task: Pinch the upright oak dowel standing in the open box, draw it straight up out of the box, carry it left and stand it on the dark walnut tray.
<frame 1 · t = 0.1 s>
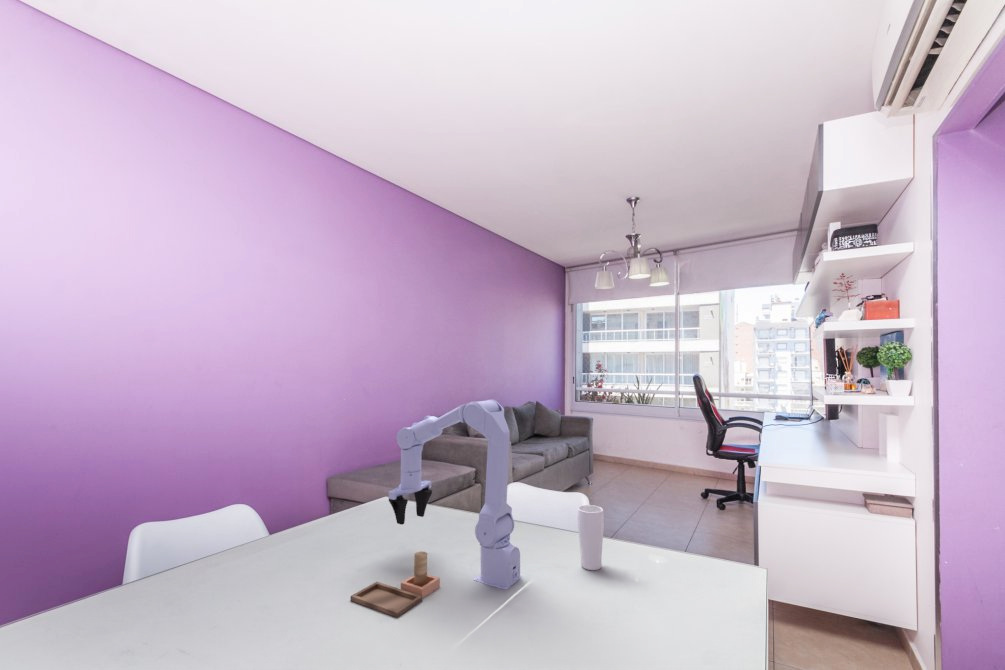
hand: (410, 519, 129), 10 cm above the table, fingers open, 7 cm apart
open box: (420, 591, 109), on the table
tray: (386, 603, 104), on the table
dowel: (420, 589, 109), resting on open box
drinking glass: (591, 567, 122), on the table
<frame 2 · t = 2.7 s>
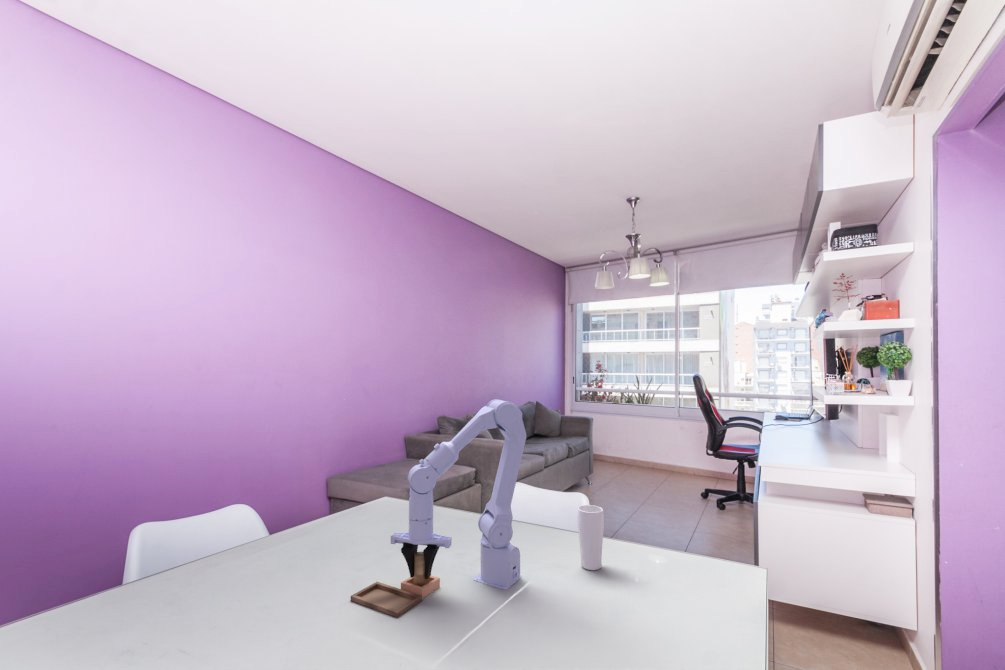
hand: (420, 576, 109), 3 cm above the table, fingers closed on dowel, 3 cm apart
dowel: (420, 589, 109), resting on open box, touching gripper
everything else where it was.
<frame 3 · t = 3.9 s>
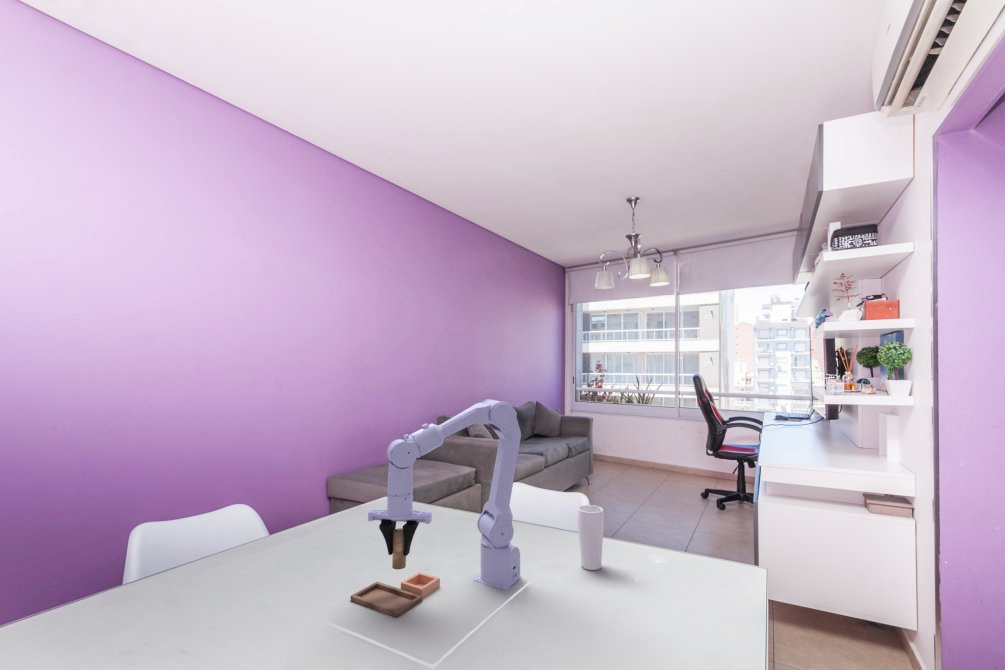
hand: (399, 553, 106), 10 cm above the table, fingers closed on dowel, 3 cm apart
dowel: (399, 566, 106), point 7 cm above the table, touching gripper
everything else where it was.
when the fingers open (4 cm above the table, at t = 5.4 s): dowel stays where it is, resting on tray.
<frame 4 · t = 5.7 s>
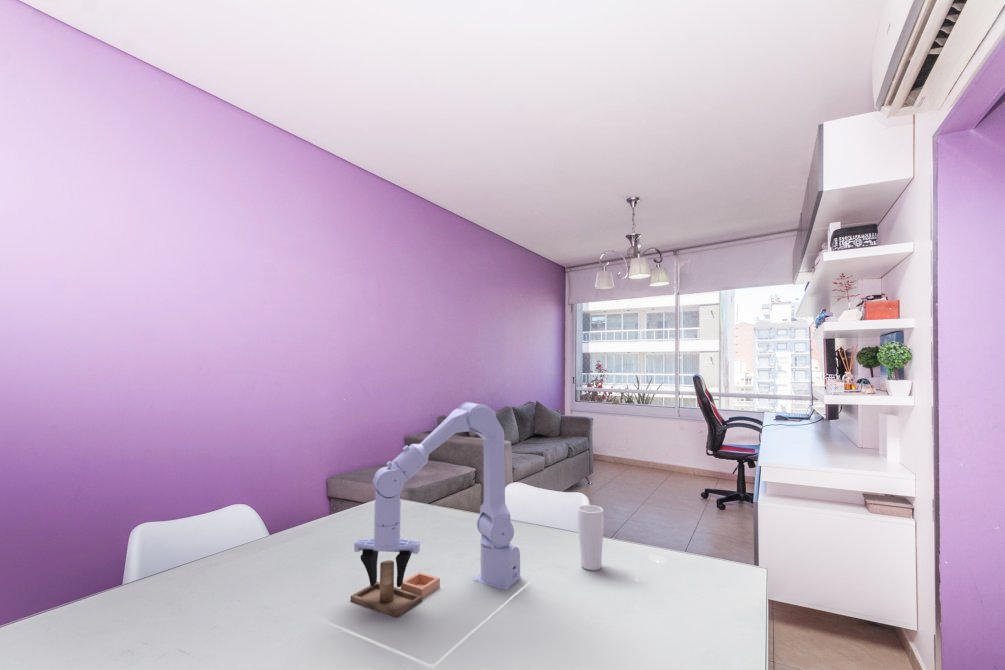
hand: (386, 584, 104), 4 cm above the table, fingers open, 5 cm apart
dowel: (386, 600, 104), point 1 cm above the table, touching tray
everything else where it was.
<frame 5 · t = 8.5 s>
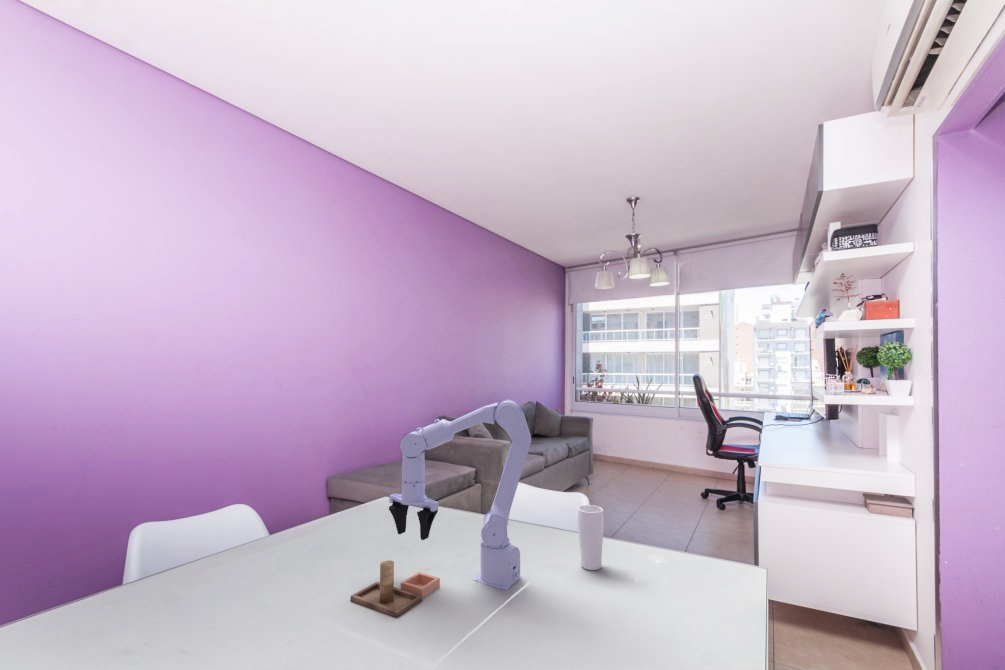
hand: (412, 535, 116), 10 cm above the table, fingers open, 7 cm apart
nothing on the table moved.
at the end: dowel inside the target area on the tray (0.1 cm from its centre), point 0.6 cm above the tray's base; dowel tilted 0°; the gripper is holding nothing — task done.
